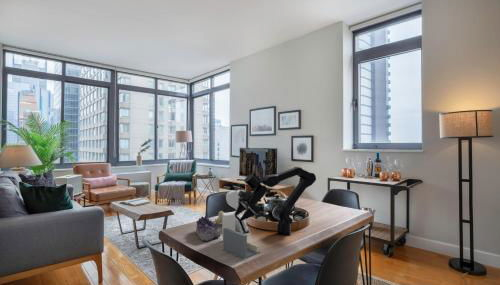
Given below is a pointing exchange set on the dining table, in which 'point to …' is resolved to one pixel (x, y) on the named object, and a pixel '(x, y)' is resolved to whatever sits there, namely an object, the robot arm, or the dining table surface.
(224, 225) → the white tapered vase
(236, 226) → the hinge
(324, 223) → the dining table surface
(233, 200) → the heart sculpture
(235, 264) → the dining table surface
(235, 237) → the bookend
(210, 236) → the geode
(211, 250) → the dining table surface
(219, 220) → the beige lumpy piece
